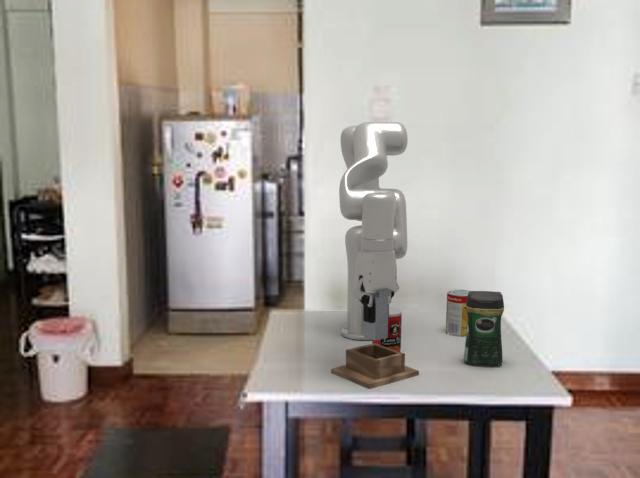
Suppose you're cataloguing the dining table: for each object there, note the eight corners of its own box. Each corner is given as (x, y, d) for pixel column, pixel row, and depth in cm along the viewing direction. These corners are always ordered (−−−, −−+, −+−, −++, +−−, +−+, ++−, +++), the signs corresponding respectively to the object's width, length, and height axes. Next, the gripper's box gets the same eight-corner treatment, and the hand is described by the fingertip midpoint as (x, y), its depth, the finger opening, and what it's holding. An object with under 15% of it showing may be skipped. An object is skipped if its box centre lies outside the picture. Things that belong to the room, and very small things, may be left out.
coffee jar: (500, 358, 193) (504, 288, 191) (503, 368, 186) (506, 295, 183) (462, 356, 195) (465, 287, 192) (463, 366, 187) (466, 294, 184)
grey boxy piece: (373, 333, 183) (374, 285, 181) (390, 338, 178) (391, 289, 177) (361, 335, 181) (362, 287, 179) (378, 341, 176) (379, 291, 174)
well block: (379, 360, 191) (380, 339, 191) (418, 374, 181) (419, 352, 180) (331, 372, 182) (331, 350, 181) (369, 388, 171) (369, 365, 170)
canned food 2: (477, 331, 218) (478, 291, 217) (467, 337, 212) (468, 296, 210) (451, 327, 223) (453, 288, 221) (441, 333, 216) (442, 293, 214)
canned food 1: (382, 356, 194) (383, 315, 193) (366, 348, 201) (367, 308, 200) (406, 352, 198) (407, 312, 196) (390, 344, 205) (391, 305, 203)
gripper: (392, 240, 184) (390, 312, 187) (340, 246, 174) (339, 322, 177) (413, 244, 178) (411, 318, 181) (361, 250, 168) (359, 329, 171)
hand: (375, 319), depth 179 cm, fingers closed on grey boxy piece, 4 cm apart
